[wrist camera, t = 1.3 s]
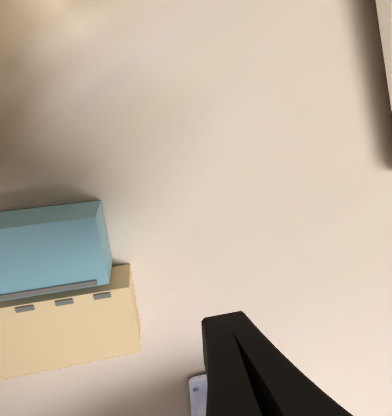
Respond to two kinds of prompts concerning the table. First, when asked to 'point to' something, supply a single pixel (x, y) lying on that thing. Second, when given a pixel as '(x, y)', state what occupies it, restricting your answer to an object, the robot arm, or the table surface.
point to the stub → (53, 249)
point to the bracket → (386, 38)
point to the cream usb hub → (69, 327)
